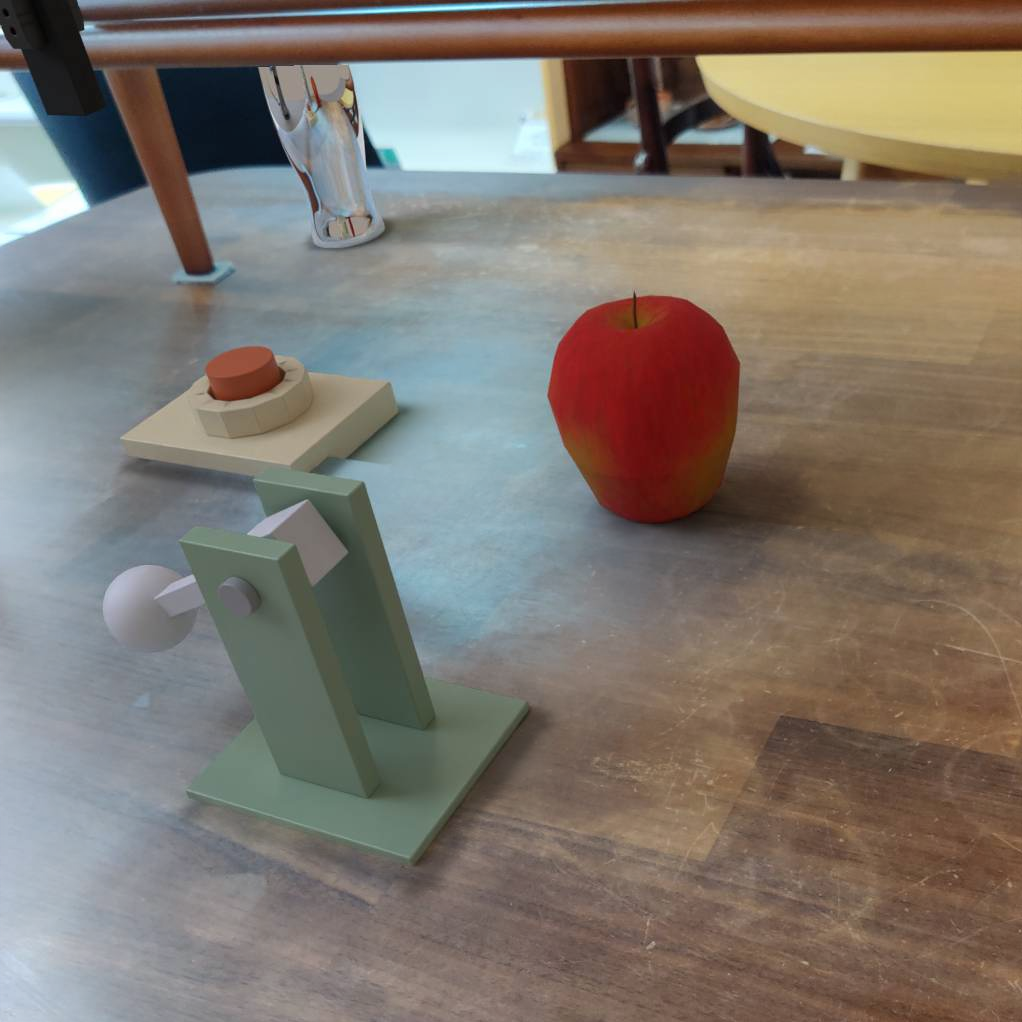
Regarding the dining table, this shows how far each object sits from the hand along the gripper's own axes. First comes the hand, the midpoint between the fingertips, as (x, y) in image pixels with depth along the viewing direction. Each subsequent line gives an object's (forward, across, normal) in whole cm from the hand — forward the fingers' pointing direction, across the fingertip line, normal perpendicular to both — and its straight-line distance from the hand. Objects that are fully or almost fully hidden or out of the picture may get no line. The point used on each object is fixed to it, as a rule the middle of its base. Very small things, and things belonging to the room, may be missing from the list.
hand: (76, 110), depth 61 cm
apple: (+20, +1, -30) cm, 36 cm away
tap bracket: (+20, -20, -26) cm, 38 cm away
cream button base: (+20, +2, -3) cm, 20 cm away
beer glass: (+20, +33, +12) cm, 41 cm away
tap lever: (+12, -20, -22) cm, 33 cm away
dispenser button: (+16, +2, -3) cm, 17 cm away
